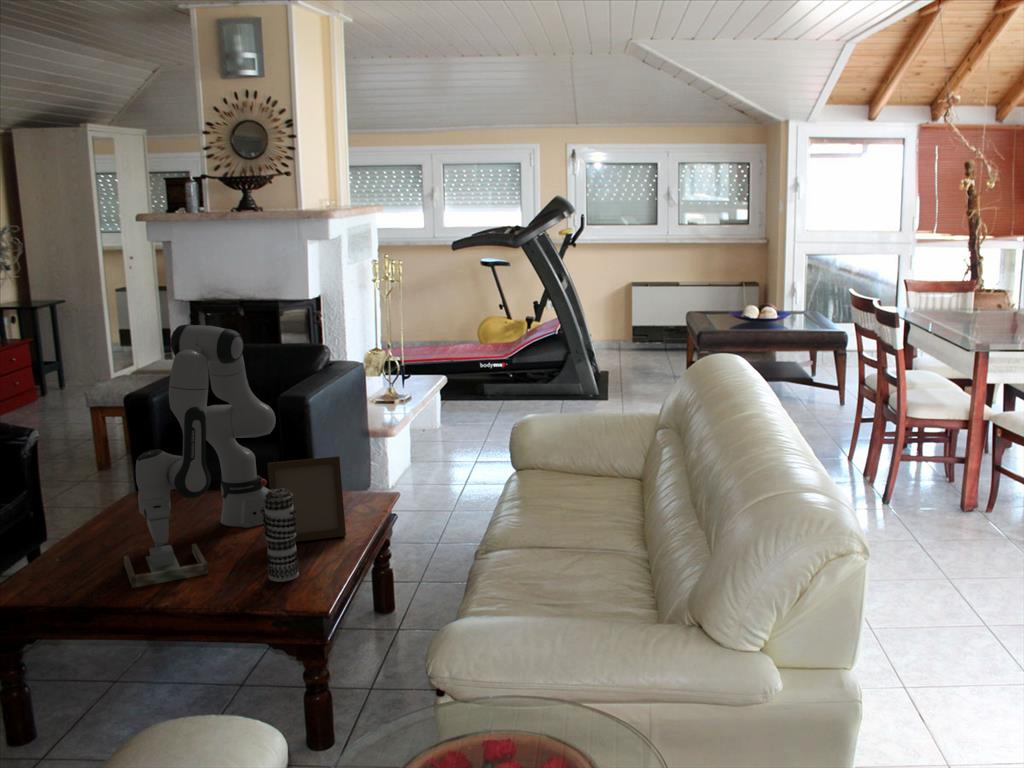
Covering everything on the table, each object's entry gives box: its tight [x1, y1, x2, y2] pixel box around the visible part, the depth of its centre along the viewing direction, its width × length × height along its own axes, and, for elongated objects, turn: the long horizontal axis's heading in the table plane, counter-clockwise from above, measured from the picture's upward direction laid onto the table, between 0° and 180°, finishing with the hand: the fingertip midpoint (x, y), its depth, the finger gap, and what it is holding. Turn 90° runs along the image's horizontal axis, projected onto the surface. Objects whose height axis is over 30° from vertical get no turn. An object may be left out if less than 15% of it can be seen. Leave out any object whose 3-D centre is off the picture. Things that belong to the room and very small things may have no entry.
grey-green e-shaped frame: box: [123, 543, 209, 589], centre depth 288 cm, size 20×24×3 cm
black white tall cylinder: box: [262, 488, 300, 583], centre depth 277 cm, size 9×9×25 cm
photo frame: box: [266, 455, 347, 543], centre depth 310 cm, size 15×22×25 cm
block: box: [148, 544, 175, 568], centre depth 291 cm, size 6×6×4 cm
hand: (159, 549), depth 295 cm, fingers closed
